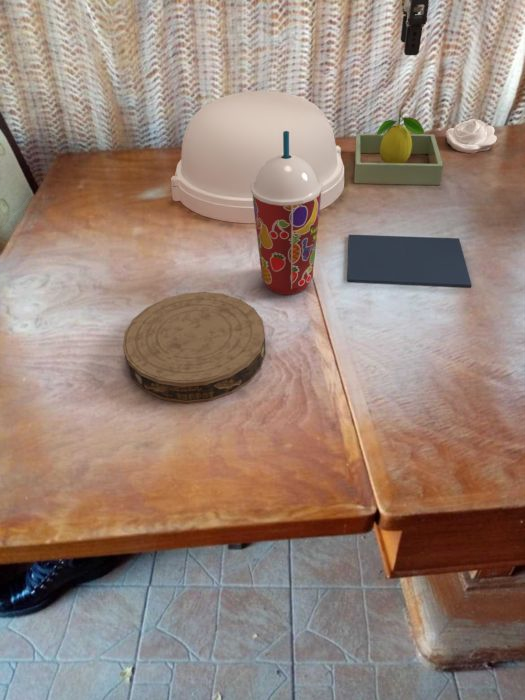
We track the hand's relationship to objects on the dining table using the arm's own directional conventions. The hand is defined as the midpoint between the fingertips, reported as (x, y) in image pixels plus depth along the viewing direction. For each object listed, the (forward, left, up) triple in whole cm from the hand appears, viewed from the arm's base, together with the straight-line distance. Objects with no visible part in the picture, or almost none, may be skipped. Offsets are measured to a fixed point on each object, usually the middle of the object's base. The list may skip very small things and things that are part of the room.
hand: (408, 48), depth 86 cm
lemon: (0, 0, -20) cm, 20 cm away
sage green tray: (0, 0, -20) cm, 20 cm away
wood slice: (+25, +54, -20) cm, 62 cm away
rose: (-15, -12, -20) cm, 28 cm away
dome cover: (+24, +8, -20) cm, 32 cm away
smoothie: (+16, +39, -20) cm, 46 cm away
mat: (0, +32, -20) cm, 37 cm away
